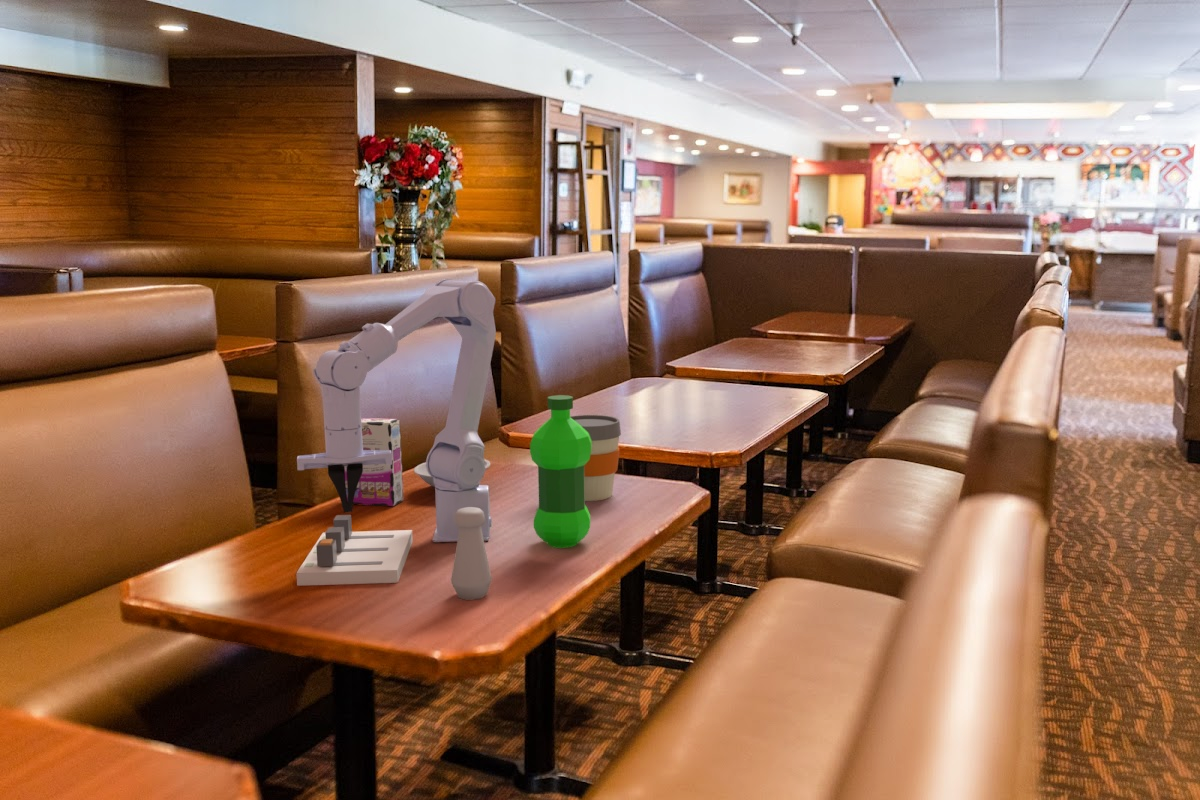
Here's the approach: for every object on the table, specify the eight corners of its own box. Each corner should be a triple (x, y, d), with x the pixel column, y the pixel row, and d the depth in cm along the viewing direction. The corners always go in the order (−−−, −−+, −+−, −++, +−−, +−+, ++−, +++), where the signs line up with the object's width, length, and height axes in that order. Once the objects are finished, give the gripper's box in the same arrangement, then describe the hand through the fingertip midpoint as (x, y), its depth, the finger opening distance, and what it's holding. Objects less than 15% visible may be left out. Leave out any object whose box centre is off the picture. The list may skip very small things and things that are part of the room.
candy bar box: (404, 500, 210) (401, 418, 207) (394, 507, 205) (390, 422, 202) (352, 497, 212) (347, 416, 209) (340, 504, 207) (336, 420, 205)
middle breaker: (344, 545, 173) (343, 526, 173) (341, 551, 170) (340, 532, 170) (329, 546, 173) (328, 527, 173) (326, 552, 170) (325, 532, 170)
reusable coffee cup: (560, 486, 219) (559, 414, 216) (621, 487, 219) (621, 414, 216) (555, 503, 207) (554, 426, 204) (620, 503, 206) (620, 426, 204)
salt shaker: (474, 604, 153) (471, 516, 151) (443, 597, 156) (440, 511, 154) (499, 592, 158) (497, 507, 156) (469, 585, 161) (466, 501, 159)
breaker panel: (412, 541, 183) (412, 529, 183) (397, 582, 163) (397, 569, 162) (323, 543, 182) (322, 531, 182) (297, 585, 162) (296, 572, 161)
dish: (445, 477, 228) (444, 454, 227) (505, 483, 223) (504, 459, 222) (398, 497, 212) (397, 472, 211) (461, 504, 207) (460, 479, 206)
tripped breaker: (336, 559, 166) (335, 537, 166) (333, 565, 164) (332, 543, 163) (321, 559, 166) (320, 538, 166) (317, 566, 163) (316, 544, 163)
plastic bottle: (593, 534, 186) (591, 392, 182) (591, 552, 176) (589, 402, 172) (535, 534, 187) (532, 392, 182) (530, 552, 176) (527, 402, 172)
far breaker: (351, 533, 180) (351, 514, 180) (349, 538, 177) (348, 519, 177) (337, 533, 180) (336, 515, 180) (334, 539, 177) (333, 520, 177)
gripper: (389, 419, 174) (393, 500, 176) (296, 424, 171) (302, 507, 173) (390, 428, 167) (394, 512, 169) (294, 433, 164) (299, 519, 166)
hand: (347, 510), depth 171 cm, fingers closed
